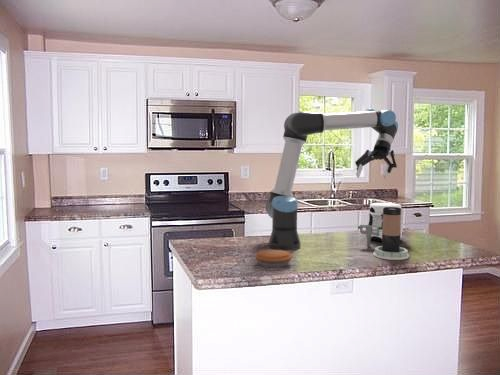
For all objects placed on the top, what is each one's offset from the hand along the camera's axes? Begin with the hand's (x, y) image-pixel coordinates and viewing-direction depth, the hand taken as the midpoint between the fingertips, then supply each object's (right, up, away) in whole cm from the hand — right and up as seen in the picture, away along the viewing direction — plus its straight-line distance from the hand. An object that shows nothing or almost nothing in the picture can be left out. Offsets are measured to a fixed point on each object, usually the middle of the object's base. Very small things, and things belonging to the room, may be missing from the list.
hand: (370, 176), depth 221 cm
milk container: (+11, -32, +15) cm, 37 cm away
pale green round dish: (+4, -35, -18) cm, 40 cm away
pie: (-48, -37, -31) cm, 68 cm away
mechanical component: (-1, -33, 0) cm, 33 cm away
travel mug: (+4, -34, -18) cm, 39 cm away
